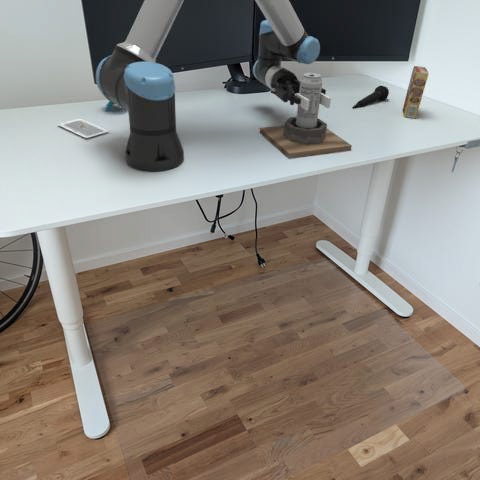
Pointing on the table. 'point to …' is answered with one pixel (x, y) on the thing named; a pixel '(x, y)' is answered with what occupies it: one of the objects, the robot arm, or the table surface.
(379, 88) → the microphone
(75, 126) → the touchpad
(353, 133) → the table surface
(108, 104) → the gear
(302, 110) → the energy drink can
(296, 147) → the can dock
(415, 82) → the candy box
